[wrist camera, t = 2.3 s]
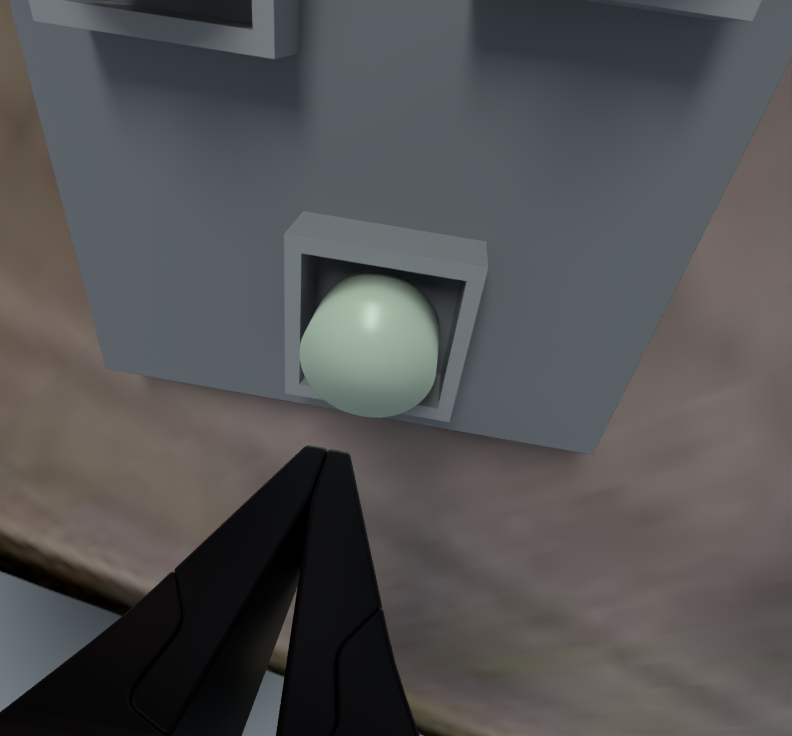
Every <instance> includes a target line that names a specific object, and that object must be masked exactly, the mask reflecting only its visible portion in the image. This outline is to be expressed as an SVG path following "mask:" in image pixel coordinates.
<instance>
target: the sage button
mask: <svg viewBox="0 0 792 736" xmlns="http://www.w3.org/2000/svg"><path fill="white" fill-rule="evenodd" d="M439 338H440V324H439V319H438V316H437V313H436V310H435V308H434V306H433V304H432V303H431V301H430V300H429V298H428V297H427V296H426V295H425V294H424V293H423V292H422V291H421V290H420V289H419V288H418V287H416V286H415V285H414V284H412V283H411V282H409V281H407V280H405V279H403V278H401V277H398V276H395V275H392V274H388V273H383V272H363V273H357V274H354V275H350V276H348V277H346V278H343V279H342V280H340V281H339V282H337V283H336V284H334V285H333V286H332V287H331V288H330V289H329V290H328V291H327V292H326V294H325V295H324V297H323V298H322V300H321V302H320V304H319V306H318V308H317V310H316V312H315V314H314V315H313V317H312V319H311V321H310V323H309V325H308V327H307V329H306V331H305V333H304V335H303V337H302V340H301V344H300V352H299V354H300V363H301V368H302V370H303V373H304V375H305V377H306V379H307V381H308V383H309V384H310V386H311V387H312V388H313V389H314V391H315V392H316V393H317V394H318V395H319V396H320V397H321V398H323V399H324V400H325V401H326V402H328V403H329V404H331V405H332V406H334V407H336V408H338V409H340V410H342V411H344V412H347V413H350V414H353V415H358V416H362V417H372V418H380V417H389V416H394V415H397V414H401V413H403V412H405V411H408V410H410V409H411V408H413V407H415V406H416V405H417V404H419V403H420V402H421V401H422V400H423V399H424V398H425V397H426V396H427V394H428V393H429V391H430V390H431V388H432V386H433V383H434V380H435V377H436V369H437V359H438V349H439Z"/></svg>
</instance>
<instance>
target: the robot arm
mask: <svg viewBox="0 0 792 736" xmlns="http://www.w3.org/2000/svg"><path fill="white" fill-rule="evenodd" d="M297 586H298V588H297ZM296 588H297V595H296V602H295V608H294V615H293V622H292V629H291V636H290V643H289V650H288V656H287V663H286V670H285V677H284V684H283V691H282V698H281V705H280V711H279V718H278V726H277V733H276V736H419V733H418V730H417V727H416V724H415V721H414V719H413V716H412V713H411V710H410V707H409V704H408V701H407V698H406V695H405V692H404V689H403V686H402V682H401V679H400V676H399V673H398V670H397V666H396V663H395V659H394V655H393V651H392V647H391V643H390V639H389V635H388V631H387V626H386V621H385V617H384V612H383V610H382V604H381V599H380V594H379V589H378V585H377V580H376V575H375V570H374V566H373V561H372V556H371V551H370V547H369V542H368V537H367V533H366V528H365V523H364V518H363V514H362V509H361V504H360V499H359V495H358V490H357V485H356V480H355V476H354V471H353V466H352V461H351V457H350V454H349V453H348V452H343V451H338V450H332V449H331V450H329V451H328V452H327V450H326V449H325V448H321V447H315V446H310V445H308V446H305V447H304V448H303V449H302V450H301V451H300V452H299V453H297V454H296V455H295V456H294V457H293V458H292V459H291V460H290V461H289V462H288V463H287V464H286V465H285V466H284V467H283V468H282V469H280V470H279V471H278V472H277V473H276V474H275V475H274V476H273V477H272V478H271V479H270V480H269V481H268V482H267V483H266V484H265V485H263V486H262V487H261V488H260V489H259V490H258V491H257V492H256V493H255V494H254V495H253V496H252V497H251V498H250V499H249V500H247V501H246V502H245V503H244V504H243V505H242V506H241V507H240V508H239V509H238V510H237V511H236V512H235V513H234V514H233V515H232V516H230V517H229V518H228V519H227V520H226V521H225V522H224V523H223V524H222V525H221V526H220V527H219V528H218V529H217V530H216V531H215V532H213V533H212V534H211V535H210V536H209V537H208V538H207V539H206V540H205V541H204V542H203V543H202V544H201V545H200V546H199V547H197V548H196V549H195V550H194V551H193V552H192V553H191V554H190V555H189V556H188V557H187V558H186V559H185V560H184V561H183V562H182V563H180V564H179V565H178V566H177V567H176V568H175V573H174V572H171V573H169V574H168V575H167V576H166V577H165V578H164V579H163V580H162V581H161V582H160V583H159V584H158V585H157V586H156V587H155V588H154V589H153V590H151V591H150V592H149V593H148V594H147V595H146V596H145V597H144V598H143V599H141V600H140V601H139V602H138V603H137V604H136V605H135V606H134V607H132V608H131V609H130V610H129V611H128V612H127V613H126V614H125V615H123V616H122V617H121V618H120V619H118V620H117V621H116V622H115V623H113V624H112V625H111V626H110V627H108V628H107V629H106V630H105V631H104V632H102V633H101V634H100V635H99V636H97V637H96V638H95V639H94V640H92V641H91V642H90V643H89V644H87V645H86V646H85V647H83V648H82V649H81V650H80V651H78V652H77V653H76V654H74V655H73V656H72V657H71V658H69V659H68V660H67V661H65V662H64V663H63V664H62V665H60V666H59V667H58V668H56V669H55V670H54V671H53V672H51V673H50V674H49V675H47V676H46V677H45V678H44V679H42V680H41V681H40V682H38V683H37V684H36V685H35V686H33V687H32V688H31V689H30V690H28V691H27V692H26V693H24V694H23V695H22V696H20V697H19V698H18V699H17V700H15V701H14V702H13V703H11V704H10V705H9V706H8V707H6V708H5V709H4V710H2V711H1V712H0V736H242V733H243V731H244V728H245V725H246V722H247V720H248V717H249V715H250V712H251V709H252V706H253V704H254V701H255V698H256V696H257V693H258V690H259V687H260V685H261V682H262V679H263V677H264V674H265V672H266V669H267V666H268V663H269V661H270V658H271V655H272V653H273V650H274V647H275V645H276V642H277V639H278V637H279V634H280V631H281V629H282V626H283V623H284V620H285V618H286V615H287V612H288V610H289V607H290V604H291V602H292V599H293V596H294V594H295V591H296Z"/></svg>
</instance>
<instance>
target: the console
mask: <svg viewBox="0 0 792 736" xmlns="http://www.w3.org/2000/svg"><path fill="white" fill-rule="evenodd" d="M9 4H10V7H11V11H12V15H13V19H14V23H15V26H16V30H17V34H18V38H19V41H20V45H21V49H22V53H23V57H24V60H25V64H26V68H27V72H28V75H29V79H30V83H31V87H32V91H33V94H34V98H35V102H36V106H37V109H38V113H39V117H40V121H41V125H42V128H43V132H44V136H45V140H46V143H47V147H48V151H49V155H50V159H51V162H52V166H53V170H54V174H55V177H56V181H57V185H58V189H59V193H60V196H61V200H62V204H63V208H64V211H65V215H66V219H67V223H68V227H69V230H70V234H71V238H72V242H73V245H74V249H75V253H76V257H77V261H78V264H79V268H80V272H81V276H82V279H83V283H84V287H85V291H86V295H87V298H88V302H89V306H90V310H91V313H92V317H93V321H94V325H95V329H96V332H97V336H98V340H99V344H100V347H101V351H102V355H103V359H104V363H105V366H106V369H110V370H115V371H121V372H127V373H132V374H138V375H144V376H149V377H155V378H161V379H166V380H172V381H178V382H183V383H189V384H195V385H200V386H206V387H212V388H217V389H223V390H229V391H234V392H240V393H246V394H251V395H257V396H262V397H268V398H274V399H279V400H285V401H291V402H296V403H302V404H308V405H313V406H319V407H325V408H330V409H336V410H340V409H338V408H336V407H334V406H332V405H331V404H329V403H328V402H326V401H325V400H324V399H323V398H321V397H320V396H319V395H318V394H317V393H316V392H315V391H314V389H313V388H312V387H311V386H310V384H309V383H308V381H307V379H306V377H305V375H304V373H303V370H302V368H301V363H300V354H299V352H300V344H301V340H302V337H303V335H304V333H305V331H306V329H307V327H308V325H309V323H310V321H311V319H312V317H313V315H314V314H315V312H316V310H317V308H318V306H319V304H320V302H321V300H322V298H323V297H324V295H325V294H326V292H327V291H328V290H329V289H330V288H331V287H332V286H333V285H334V284H336V283H337V282H339V281H340V280H342V279H343V278H346V277H348V276H350V275H354V274H357V273H363V272H383V273H388V274H392V275H395V276H398V277H401V278H403V279H405V280H407V281H409V282H411V283H412V284H414V285H415V286H416V287H418V288H419V289H420V290H421V291H422V292H423V293H424V294H425V295H426V296H427V297H428V298H429V300H430V301H431V303H432V304H433V306H434V308H435V310H436V313H437V316H438V319H439V324H440V338H439V349H438V359H437V369H436V377H435V380H434V383H433V386H432V388H431V390H430V391H429V393H428V394H427V396H426V397H425V398H424V399H423V400H422V401H421V402H420V403H419V404H417V405H416V406H415V407H413V408H411V409H410V410H408V411H405V412H403V413H401V414H397V415H394V416H389V417H381V418H387V419H393V420H398V421H404V422H410V423H415V424H421V425H427V426H432V427H438V428H444V429H449V430H455V431H461V432H466V433H472V434H478V435H483V436H489V437H495V438H500V439H506V440H512V441H517V442H523V443H529V444H534V445H540V446H546V447H551V448H557V449H563V450H568V451H574V452H580V453H585V454H591V455H593V453H594V451H595V449H596V447H597V445H598V443H599V441H600V439H601V437H602V435H603V433H604V431H605V429H606V427H607V425H608V423H609V421H610V419H611V417H612V415H613V413H614V411H615V409H616V407H617V405H618V403H619V401H620V399H621V397H622V395H623V393H624V391H625V389H626V387H627V385H628V383H629V381H630V379H631V377H632V375H633V373H634V371H635V369H636V367H637V365H638V363H639V361H640V359H641V357H642V355H643V353H644V351H645V349H646V347H647V345H648V343H649V341H650V339H651V337H652V335H653V333H654V331H655V329H656V327H657V325H658V323H659V321H660V319H661V317H662V315H663V313H664V311H665V309H666V307H667V305H668V303H669V301H670V299H671V297H672V295H673V293H674V291H675V289H676V287H677V285H678V283H679V281H680V279H681V277H682V275H683V273H684V271H685V269H686V267H687V265H688V263H689V261H690V259H691V257H692V255H693V253H694V251H695V249H696V247H697V245H698V243H699V241H700V239H701V237H702V235H703V233H704V231H705V229H706V227H707V225H708V223H709V221H710V219H711V217H712V215H713V213H714V211H715V209H716V207H717V205H718V203H719V201H720V199H721V197H722V195H723V193H724V191H725V189H726V187H727V185H728V183H729V181H730V179H731V177H732V175H733V173H734V171H735V169H736V167H737V165H738V163H739V161H740V159H741V157H742V155H743V153H744V151H745V149H746V147H747V145H748V143H749V141H750V139H751V137H752V135H753V133H754V131H755V129H756V127H757V125H758V123H759V121H760V119H761V117H762V115H763V113H764V111H765V109H766V107H767V105H768V103H769V102H770V100H771V98H772V96H773V94H774V92H775V90H776V88H777V86H778V84H779V82H780V80H781V78H782V76H783V74H784V72H785V70H786V68H787V66H788V64H789V62H790V60H791V58H792V0H9Z"/></svg>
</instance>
